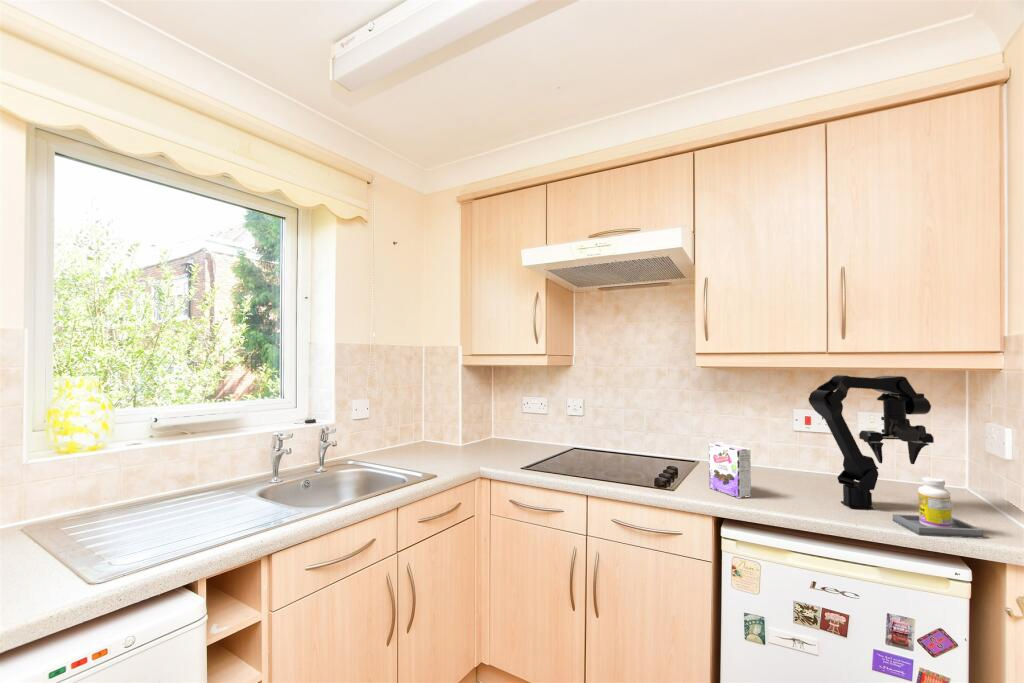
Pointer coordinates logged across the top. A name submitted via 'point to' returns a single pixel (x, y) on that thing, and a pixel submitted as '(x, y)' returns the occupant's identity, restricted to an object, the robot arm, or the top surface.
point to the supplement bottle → (934, 503)
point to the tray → (956, 527)
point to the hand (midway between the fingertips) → (896, 463)
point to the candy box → (730, 469)
